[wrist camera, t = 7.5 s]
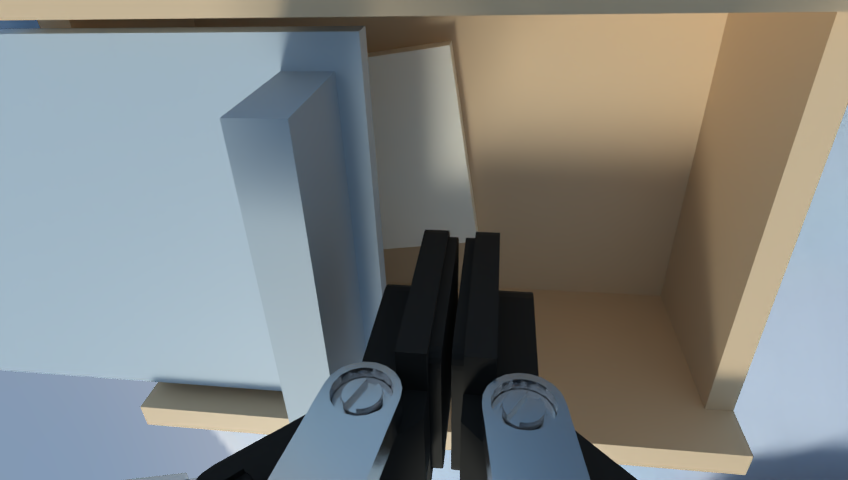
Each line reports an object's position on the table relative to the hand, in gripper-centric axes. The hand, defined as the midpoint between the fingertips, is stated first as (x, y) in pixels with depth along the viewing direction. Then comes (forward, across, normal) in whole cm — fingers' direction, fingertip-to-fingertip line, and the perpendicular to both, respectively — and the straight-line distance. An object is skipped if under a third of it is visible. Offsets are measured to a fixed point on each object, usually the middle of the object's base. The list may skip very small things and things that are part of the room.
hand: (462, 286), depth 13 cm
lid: (+2, +11, 0) cm, 11 cm away
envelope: (+8, +3, 0) cm, 8 cm away
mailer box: (+9, +1, 0) cm, 9 cm away
